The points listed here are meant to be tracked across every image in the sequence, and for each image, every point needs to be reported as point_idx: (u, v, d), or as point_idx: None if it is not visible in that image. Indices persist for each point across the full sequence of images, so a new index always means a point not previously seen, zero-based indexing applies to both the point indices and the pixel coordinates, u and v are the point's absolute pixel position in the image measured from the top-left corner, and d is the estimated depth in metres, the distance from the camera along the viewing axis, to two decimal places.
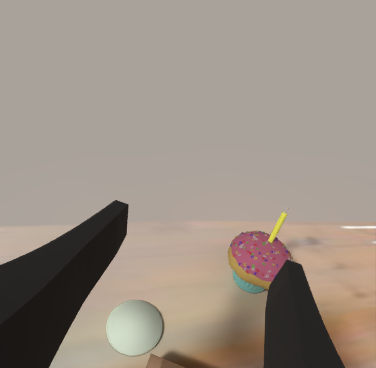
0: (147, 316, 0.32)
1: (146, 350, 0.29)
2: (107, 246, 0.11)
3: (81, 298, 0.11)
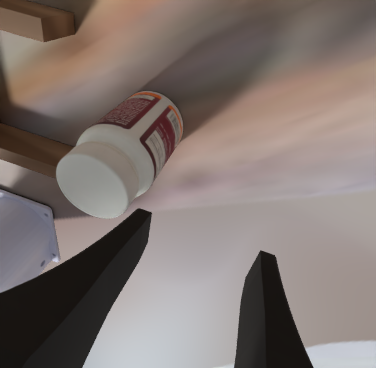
0: None
1: None
2: (132, 255, 0.11)
3: (107, 308, 0.11)
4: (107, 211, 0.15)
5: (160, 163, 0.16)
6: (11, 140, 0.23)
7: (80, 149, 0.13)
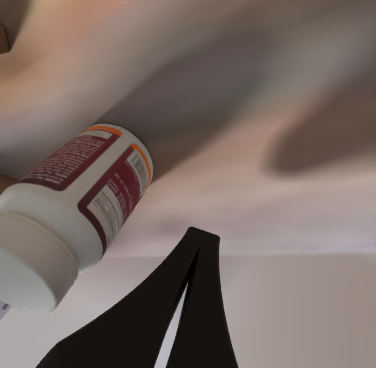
0: None
1: None
2: (188, 276, 0.11)
3: (166, 331, 0.10)
4: (32, 306, 0.10)
5: (114, 228, 0.12)
6: None
7: None
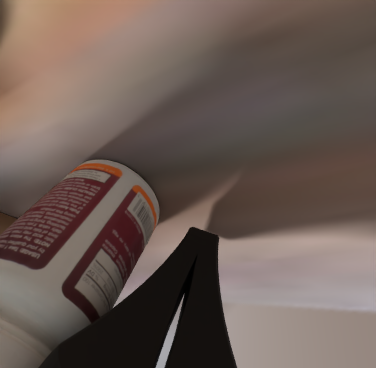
0: None
1: None
2: (189, 276, 0.11)
3: (167, 332, 0.10)
4: None
5: (111, 303, 0.09)
6: None
7: None
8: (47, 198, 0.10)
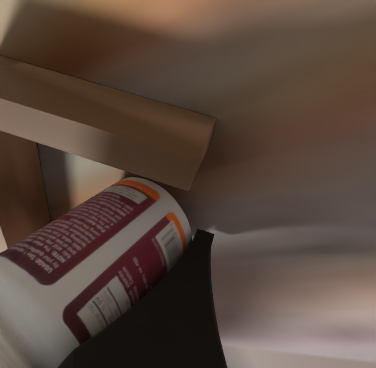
0: None
1: None
2: None
3: None
4: None
5: None
6: None
7: None
8: (80, 209, 0.10)
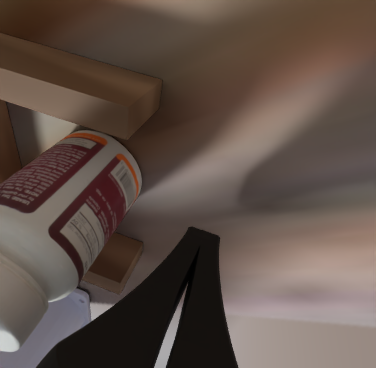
0: None
1: None
2: (188, 276, 0.11)
3: (165, 331, 0.10)
4: None
5: (93, 252, 0.11)
6: None
7: None
8: (37, 160, 0.11)
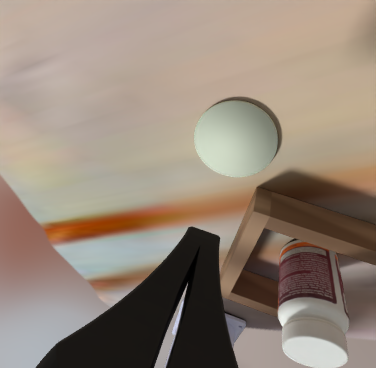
0: (252, 128, 0.19)
1: (253, 173, 0.21)
2: (188, 276, 0.11)
3: (165, 331, 0.10)
4: (318, 365, 0.19)
5: None
6: (258, 290, 0.27)
7: (316, 331, 0.18)
8: (306, 265, 0.21)
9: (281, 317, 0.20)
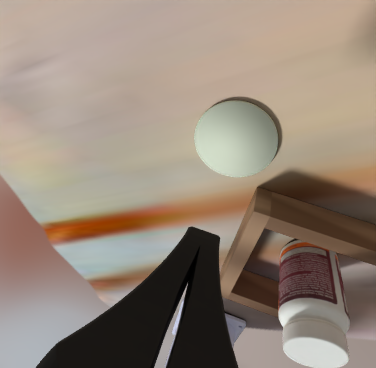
0: (253, 128, 0.19)
1: (253, 173, 0.21)
2: (188, 276, 0.11)
3: (166, 331, 0.11)
4: (319, 365, 0.19)
5: None
6: (258, 290, 0.27)
7: (317, 331, 0.18)
8: (306, 265, 0.21)
9: (282, 318, 0.20)
